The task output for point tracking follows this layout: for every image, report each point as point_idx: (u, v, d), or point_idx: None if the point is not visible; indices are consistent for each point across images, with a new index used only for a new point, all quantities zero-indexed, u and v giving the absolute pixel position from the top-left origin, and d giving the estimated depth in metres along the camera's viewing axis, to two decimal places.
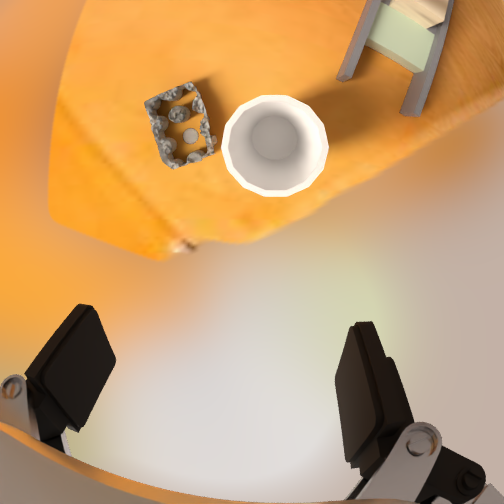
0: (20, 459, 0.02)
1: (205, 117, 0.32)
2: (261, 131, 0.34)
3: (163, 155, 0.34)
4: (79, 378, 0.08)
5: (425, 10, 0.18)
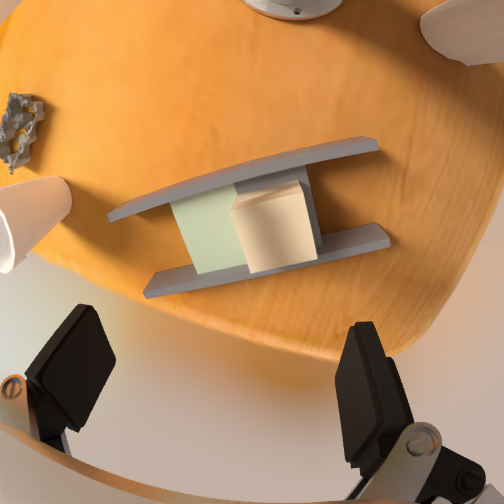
0: (20, 459, 0.02)
1: (24, 143, 0.26)
2: None
3: None
4: (79, 378, 0.08)
5: None
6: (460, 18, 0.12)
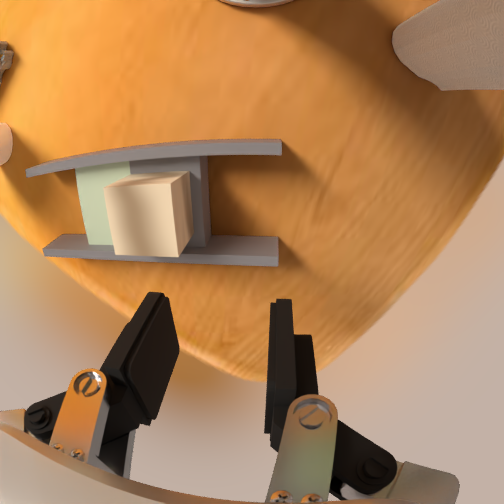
0: (20, 459, 0.02)
1: None
2: None
3: None
4: (155, 367, 0.08)
5: None
6: (431, 24, 0.12)
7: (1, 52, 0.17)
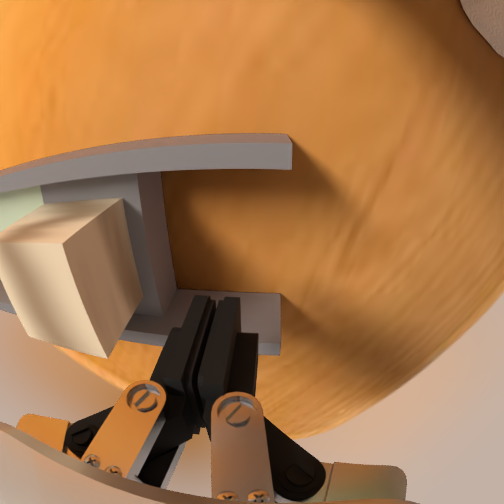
0: (20, 459, 0.02)
1: None
2: None
3: None
4: None
5: None
6: None
7: None
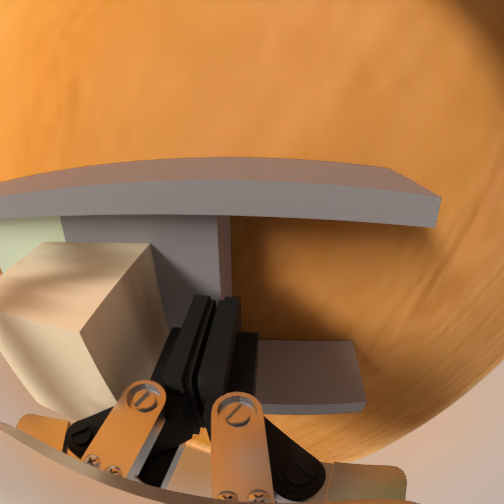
0: (20, 459, 0.02)
1: None
2: None
3: None
4: None
5: None
6: None
7: None
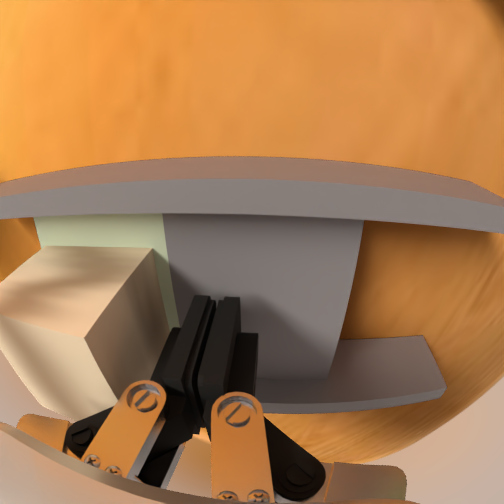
0: (20, 459, 0.02)
1: None
2: None
3: None
4: None
5: None
6: None
7: None
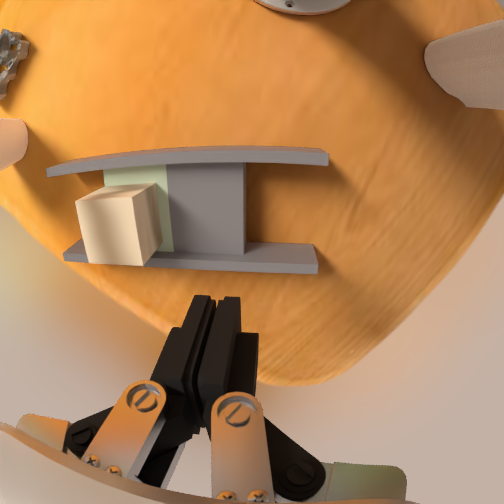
0: (20, 459, 0.02)
1: (2, 78, 0.19)
2: None
3: None
4: None
5: None
6: (469, 48, 0.12)
7: (16, 42, 0.17)
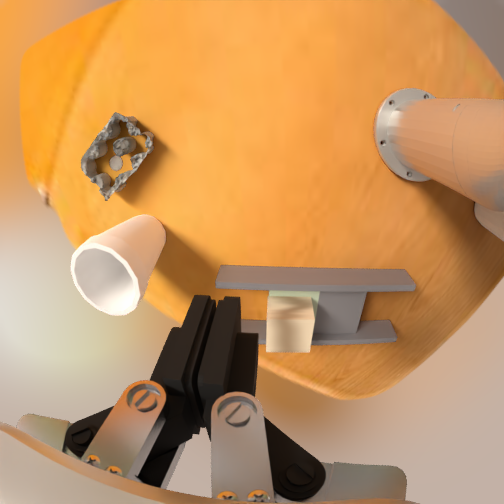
0: (20, 459, 0.02)
1: (129, 174, 0.33)
2: None
3: (85, 156, 0.32)
4: None
5: None
6: None
7: (140, 134, 0.31)
